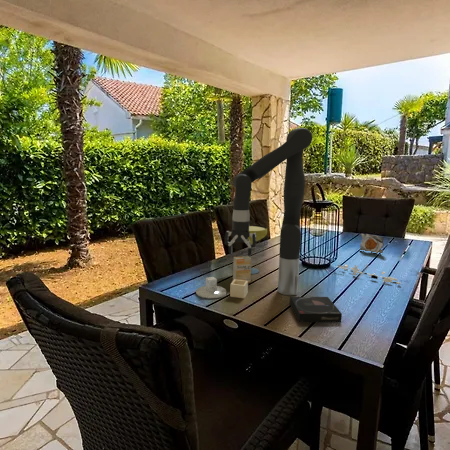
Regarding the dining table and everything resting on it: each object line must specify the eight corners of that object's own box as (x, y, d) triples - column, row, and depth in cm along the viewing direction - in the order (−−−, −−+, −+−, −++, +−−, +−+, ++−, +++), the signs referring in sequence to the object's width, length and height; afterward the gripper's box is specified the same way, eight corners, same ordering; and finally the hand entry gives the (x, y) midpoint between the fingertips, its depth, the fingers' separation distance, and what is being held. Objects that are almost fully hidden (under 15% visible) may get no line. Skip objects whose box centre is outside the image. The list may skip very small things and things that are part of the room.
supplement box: (235, 284, 170) (235, 259, 168) (232, 280, 175) (233, 256, 173) (250, 282, 173) (251, 258, 170) (247, 279, 177) (248, 255, 175)
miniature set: (331, 271, 191) (338, 269, 201) (399, 289, 170) (403, 286, 180) (333, 260, 190) (340, 258, 200) (401, 277, 170) (405, 274, 179)
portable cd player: (326, 304, 149) (327, 296, 148) (340, 323, 132) (341, 313, 131) (289, 304, 148) (289, 296, 147) (299, 323, 131) (299, 313, 130)
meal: (358, 252, 234) (359, 234, 231) (360, 251, 237) (361, 233, 235) (381, 256, 225) (383, 237, 223) (383, 255, 228) (385, 236, 226)
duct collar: (247, 293, 159) (247, 280, 158) (244, 298, 153) (244, 285, 152) (234, 291, 161) (234, 279, 160) (230, 296, 155) (230, 284, 154)
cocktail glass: (227, 273, 187) (228, 228, 182) (241, 264, 203) (242, 223, 198) (258, 278, 179) (259, 232, 174) (270, 269, 194) (272, 226, 190)
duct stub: (217, 285, 168) (217, 272, 167) (231, 295, 156) (231, 281, 155) (191, 290, 162) (191, 276, 160) (203, 300, 149) (203, 285, 148)
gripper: (258, 219, 152) (257, 254, 155) (228, 217, 156) (227, 251, 159) (254, 222, 145) (253, 258, 148) (223, 219, 149) (222, 255, 152)
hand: (240, 254), depth 153 cm, fingers open, 8 cm apart
